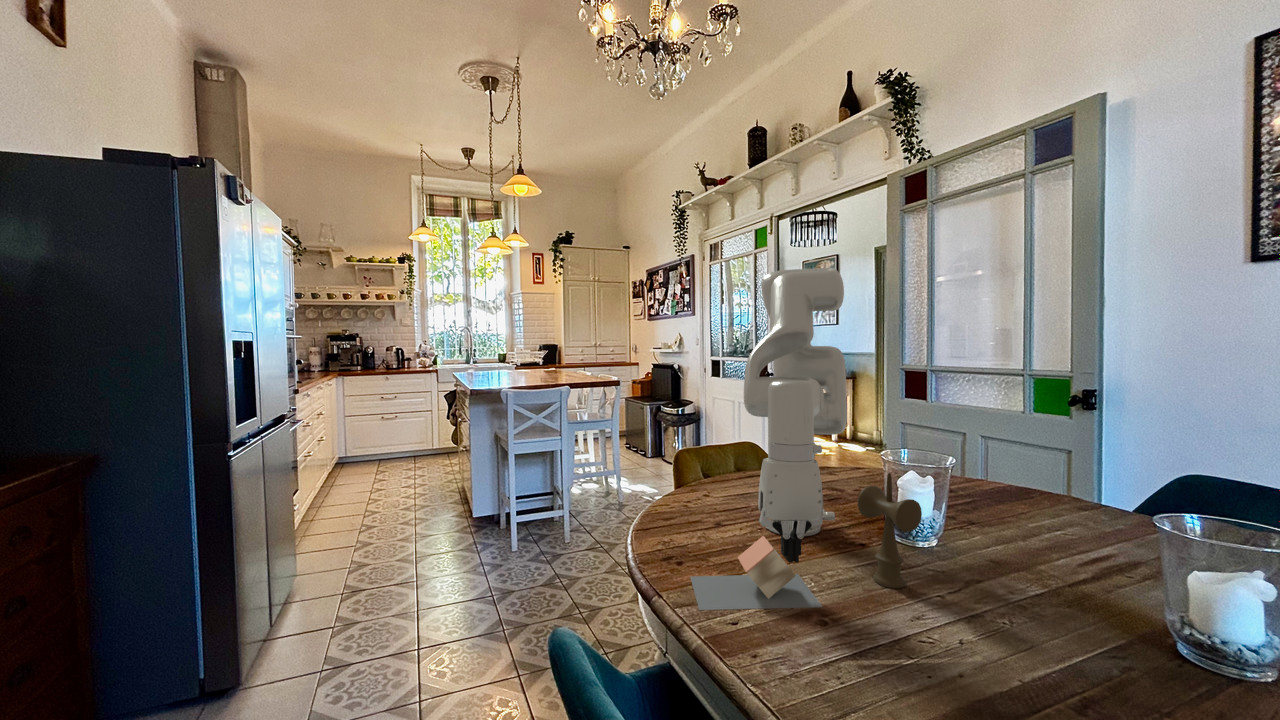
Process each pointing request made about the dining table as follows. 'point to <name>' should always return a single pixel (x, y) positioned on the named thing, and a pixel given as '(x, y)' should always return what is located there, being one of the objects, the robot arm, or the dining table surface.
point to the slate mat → (749, 594)
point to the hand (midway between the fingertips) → (791, 559)
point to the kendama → (889, 529)
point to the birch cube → (766, 567)
